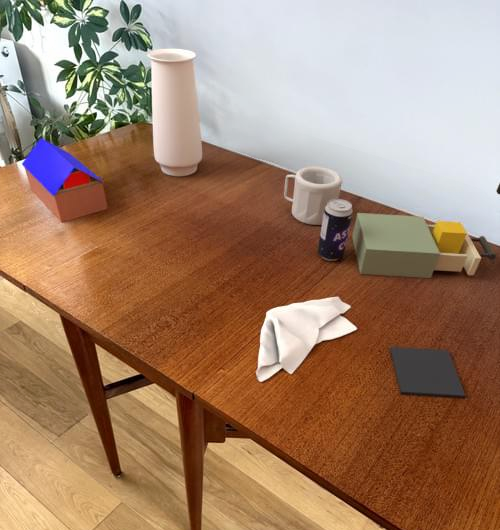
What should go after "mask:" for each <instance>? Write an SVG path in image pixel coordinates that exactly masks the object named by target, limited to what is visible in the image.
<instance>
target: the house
mask: <svg viewBox="0 0 500 530" xmlns="http://www.w3.org/2000/svg"><path fill="white" fill-rule="evenodd" d="M21 165H22V166H23V167H24V170H25V173H26V177H27V180H28V183H29V187H30V190H31V192H32V193H34V195H35V196H36V197H37V198H38V199H39V200H40V201H41V202H42V203H43V204H44V205H45V207H47V209H49V211H50V212H51V213H52V214H53V215H54V216H55V217H56V218H57V219H58V221H60V223H64V222H68V221H71V220H74V219H78V218H82V217H84V216H89V215H92V214H95V213H98V212H102V211H105V210H108V204H107V199H106V198H107V197H106V191H105V188H104V181H103V179H101V178H100V177H99V176H98V175H96V174H95V173H94V172H93V171H92V170H90V169H89V168H88V167H87V166H86V165H84V164H83V163H82V162H81V161H80V160H78V158H76V157H75V156H73V155H72V154H71V153H70V152H68V151H66V150H64V149H63V148H61V147H59V146H57V145H55V144H53V143H51V142H50V141H47V140H46V139H44V138H42V137H40V138H39V140H37V142H36V144H34V146H33V148H32V149H31V151H30V152H29V153H28V154H27V156H26V157H25V159H24V160H23V161H22V163H21Z"/></svg>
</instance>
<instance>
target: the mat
mask: <svg viewBox="0 0 500 530" xmlns="http://www.w3.org/2000/svg"><path fill="white" fill-rule="evenodd" d="M389 352H390V357H391V361H392V364H393V368H394V372H395V377H396V381H397V384H398V389H399V393H400V395H410V394H411V395H413V396H428V397H443V398H444V397H446V398H462V399H464V398H466V393H465V390H464V388H463V385H462V382H461V380H460V377H459V375H458V371H457V369H456V366H455V364H454V361H453V359H452V356H451V353H450V350H449V349H435V348H433V349H432V348H418V347H417V348H416V347H400V346H390V347H389ZM411 395H410V396H411Z"/></svg>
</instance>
